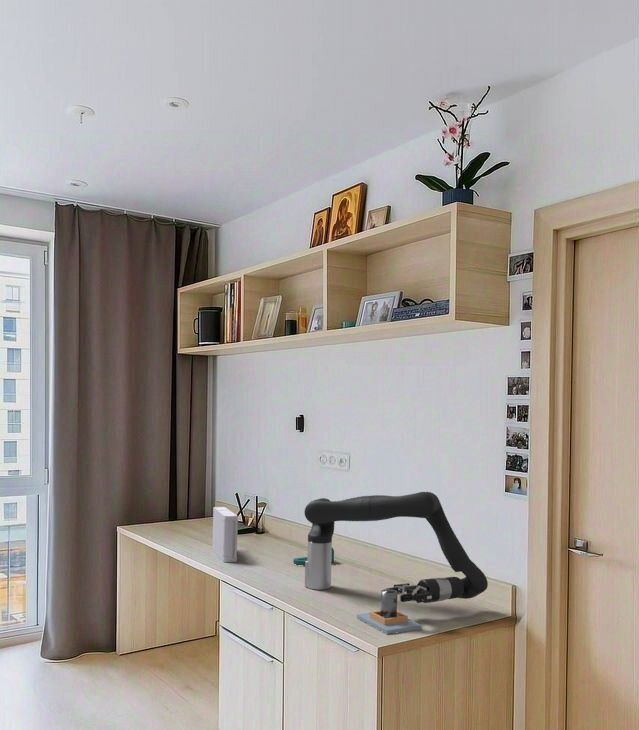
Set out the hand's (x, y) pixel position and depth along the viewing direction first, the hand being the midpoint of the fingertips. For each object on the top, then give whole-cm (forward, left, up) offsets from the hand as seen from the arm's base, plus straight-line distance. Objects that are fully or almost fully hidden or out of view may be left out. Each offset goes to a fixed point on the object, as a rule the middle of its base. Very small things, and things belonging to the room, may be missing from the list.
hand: (393, 595), depth 236 cm
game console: (-101, +57, -9) cm, 116 cm away
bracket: (-60, +64, -9) cm, 88 cm away
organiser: (-1, -1, -9) cm, 9 cm away
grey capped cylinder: (-1, -1, -8) cm, 8 cm away
